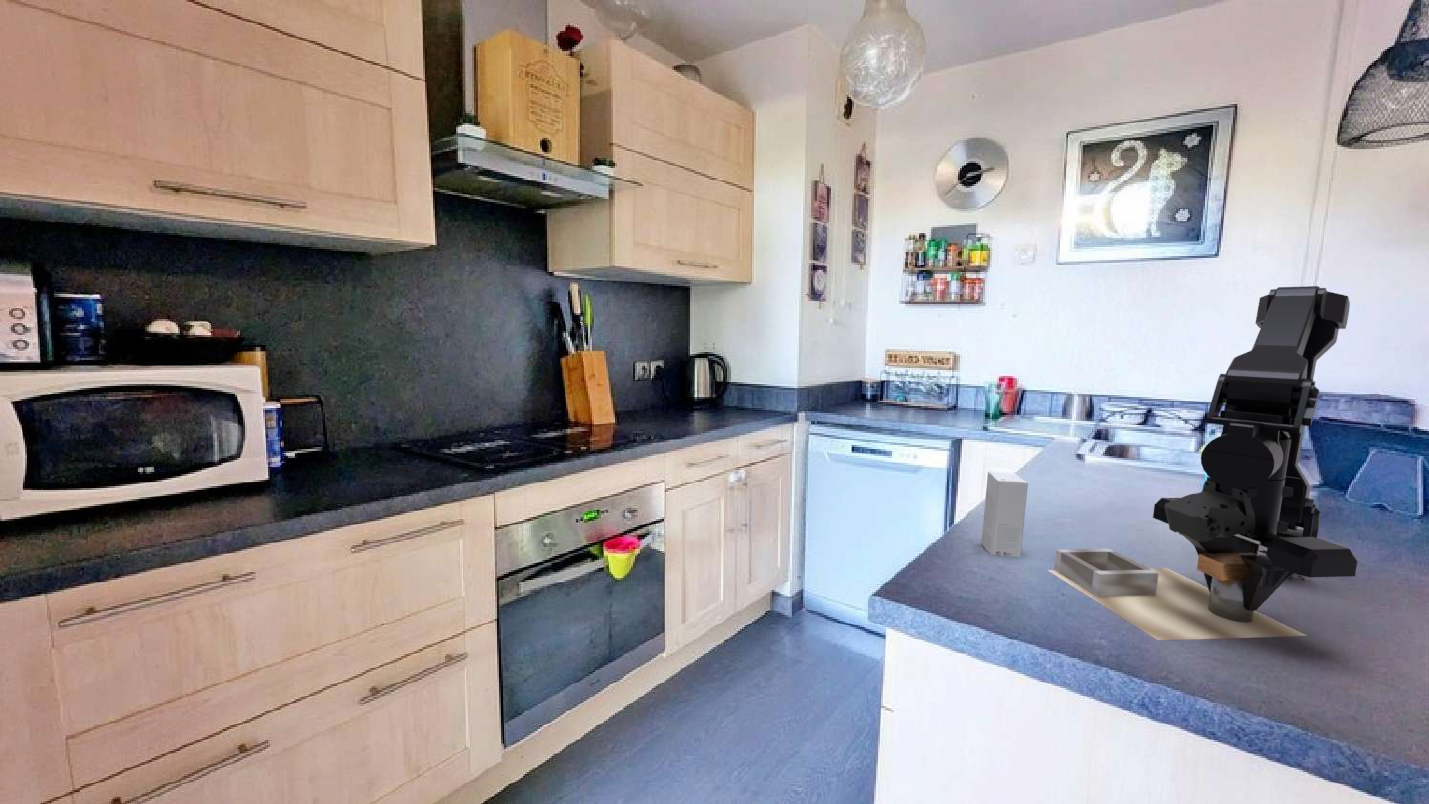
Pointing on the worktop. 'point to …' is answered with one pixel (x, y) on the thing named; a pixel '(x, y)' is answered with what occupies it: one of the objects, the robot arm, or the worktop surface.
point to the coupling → (1227, 585)
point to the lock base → (1155, 598)
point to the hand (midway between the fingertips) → (1231, 601)
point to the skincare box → (1004, 514)
